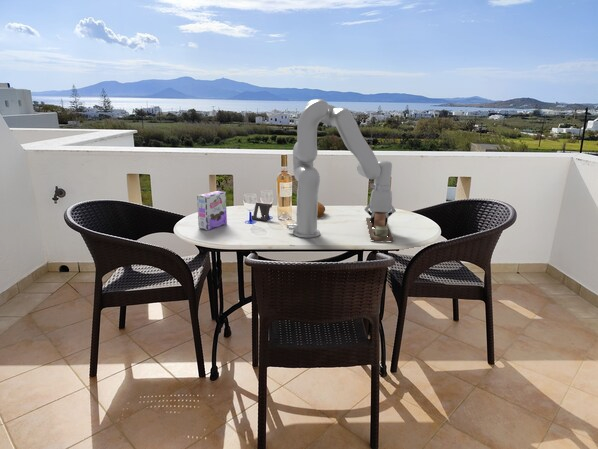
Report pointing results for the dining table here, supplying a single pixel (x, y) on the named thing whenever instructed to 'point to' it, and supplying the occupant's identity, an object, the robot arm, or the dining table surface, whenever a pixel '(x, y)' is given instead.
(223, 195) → the candy box
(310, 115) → the robot arm
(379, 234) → the walnut puzzle base
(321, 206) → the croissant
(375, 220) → the terracotta block
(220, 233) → the dining table surface
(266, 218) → the portable electronic device stand
